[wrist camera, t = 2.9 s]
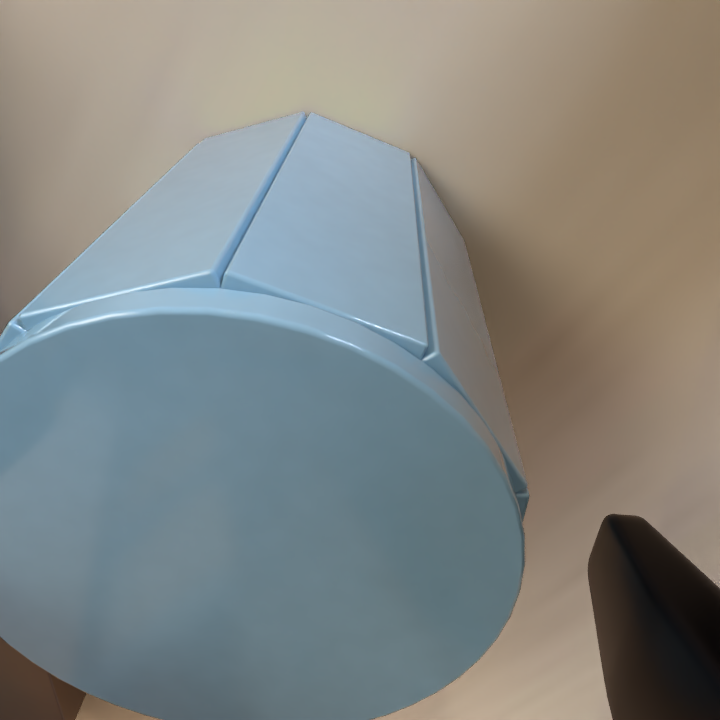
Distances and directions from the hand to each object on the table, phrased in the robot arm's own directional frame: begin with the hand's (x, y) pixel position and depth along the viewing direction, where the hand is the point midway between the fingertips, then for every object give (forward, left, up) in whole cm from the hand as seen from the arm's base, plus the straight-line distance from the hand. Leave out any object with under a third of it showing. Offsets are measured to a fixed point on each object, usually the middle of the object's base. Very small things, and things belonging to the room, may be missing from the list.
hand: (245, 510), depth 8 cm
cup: (0, 0, -7) cm, 7 cm away
